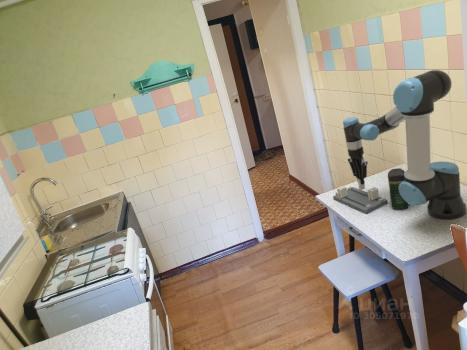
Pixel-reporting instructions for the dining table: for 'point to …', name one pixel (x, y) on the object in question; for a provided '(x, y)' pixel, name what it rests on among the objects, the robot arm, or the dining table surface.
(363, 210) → the console
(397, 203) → the coffee jar
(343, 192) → the fader
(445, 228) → the dining table surface
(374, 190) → the fader
